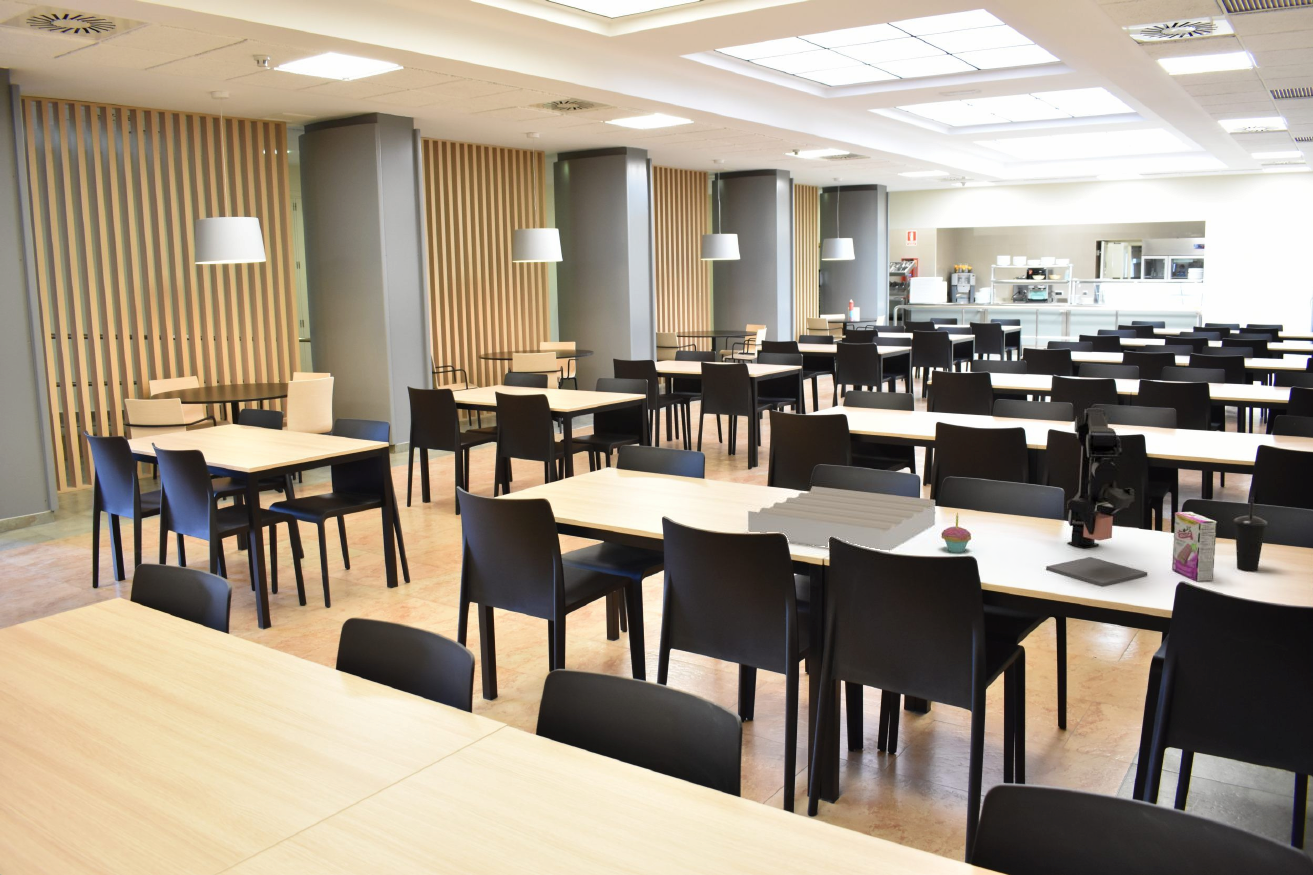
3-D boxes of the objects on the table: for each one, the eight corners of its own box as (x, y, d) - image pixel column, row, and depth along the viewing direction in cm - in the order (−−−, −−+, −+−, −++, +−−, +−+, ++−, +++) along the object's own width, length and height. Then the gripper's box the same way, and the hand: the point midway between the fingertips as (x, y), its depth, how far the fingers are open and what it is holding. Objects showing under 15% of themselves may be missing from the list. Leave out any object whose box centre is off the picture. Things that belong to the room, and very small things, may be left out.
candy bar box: (1170, 570, 268) (1173, 511, 265) (1187, 569, 268) (1191, 511, 266) (1195, 582, 257) (1199, 521, 254) (1214, 581, 257) (1218, 520, 255)
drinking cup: (1224, 565, 271) (1229, 495, 268) (1250, 564, 271) (1255, 494, 268) (1243, 573, 263) (1248, 501, 260) (1270, 572, 264) (1275, 500, 261)
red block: (1095, 534, 269) (1096, 512, 268) (1111, 537, 264) (1112, 516, 263) (1083, 536, 266) (1084, 515, 265) (1099, 540, 262) (1100, 518, 261)
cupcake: (972, 554, 287) (973, 514, 285) (942, 553, 289) (943, 514, 287) (968, 547, 296) (970, 508, 294) (939, 546, 297) (940, 507, 295)
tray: (812, 510, 350) (812, 486, 348) (934, 526, 324) (935, 499, 322) (748, 538, 314) (748, 510, 312) (880, 558, 288) (880, 528, 286)
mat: (1090, 560, 279) (1090, 556, 279) (1147, 575, 263) (1147, 572, 263) (1046, 569, 271) (1046, 566, 270) (1102, 586, 255) (1102, 582, 255)
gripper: (1103, 485, 251) (1100, 544, 254) (1150, 477, 260) (1147, 534, 262) (1067, 478, 261) (1064, 535, 264) (1113, 471, 270) (1110, 526, 272)
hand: (1097, 533), depth 265 cm, fingers closed on red block, 5 cm apart
